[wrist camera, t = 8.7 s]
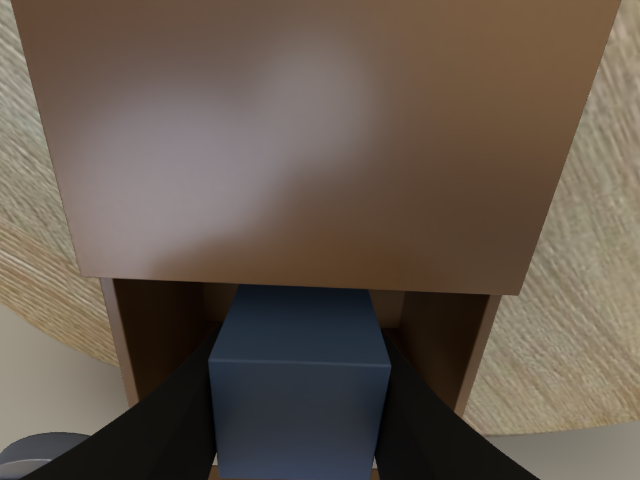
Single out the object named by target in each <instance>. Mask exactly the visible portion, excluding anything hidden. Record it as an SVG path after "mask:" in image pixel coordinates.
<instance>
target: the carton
mask: <svg viewBox="0 0 640 480" xmlns="http://www.w3.org/2000/svg"><path fill="white" fill-rule="evenodd" d="M620 3H621V0H11V4H12V8H13V12H14V16H15V19H16V23H17V27H18V31H19V35H20V39H21V43H22V47H23V51H24V55H25V59H26V63H27V67H28V70H29V74H30V78H31V82H32V86H33V90H34V94H35V98H36V102H37V106H38V110H39V114H40V118H41V121H42V125H43V129H44V133H45V137H46V141H47V145H48V149H49V153H50V157H51V161H52V165H53V169H54V172H55V176H56V180H57V184H58V188H59V192H60V196H61V200H62V204H63V208H64V212H65V216H66V220H67V223H68V227H69V231H70V235H71V239H72V243H73V247H74V251H75V255H76V259H77V263H78V267H79V271H80V274H81V277H94V278H99V279H100V283H101V287H102V292H103V296H104V300H105V305H106V309H107V313H108V318H109V322H110V326H111V331H112V335H113V339H114V344H115V348H116V352H117V357H118V361H119V365H120V370H121V374H122V378H123V383H124V387H125V391H126V396H127V400H128V404H129V409H130V408H131V407H133V406H134V405H135V404H137V403H138V402H139V401H140V400H142V399H143V398H144V397H145V396H147V395H148V394H149V393H150V392H151V391H152V390H154V389H155V388H156V387H157V386H158V385H159V384H161V383H162V382H163V381H164V380H165V379H166V378H167V377H168V376H169V375H170V374H172V373H173V372H174V371H175V370H176V369H177V368H178V367H179V366H180V365H181V364H182V363H183V362H184V361H185V360H186V359H187V358H188V357H189V356H190V355H191V354H192V353H193V352H194V351H195V350H196V349H197V348H198V347H199V346H200V345H201V344H202V343H203V342H204V341H205V340H206V338H207V337H208V336H209V335H210V334H211V333H212V332H213V331H214V330H215V329H216V328H217V326H218V325H220V324H221V323H224V320H225V318H226V316H227V313H228V311H229V308H230V306H231V304H232V301H233V299H234V296H235V294H236V292H237V289H238V287H239V284H258V285H282V286H305V287H328V288H352V289H368V290H369V293H370V297H371V300H372V303H373V307H374V310H375V313H376V317H377V320H378V323H379V327H380V329H383V330H384V332H385V333H386V334H387V335H388V337H389V338H390V339H391V341H392V342H393V343H394V345H395V346H396V347H397V349H398V350H399V351H400V353H401V354H402V355H403V356H404V358H405V359H406V360H407V361H408V363H409V364H410V365H411V366H412V368H413V369H414V370H415V371H416V372H417V373H418V375H419V376H420V377H421V378H422V379H423V380H424V382H425V383H426V384H427V385H428V386H429V387H430V388H431V389H432V390H433V391H434V392H435V394H436V395H437V396H438V397H439V398H440V399H441V400H442V401H443V402H444V403H445V404H446V405H447V406H448V407H449V408H451V409H452V410H453V411H454V412H455V413H456V414H457V415H458V416H459V417H460V418H461V419H462V417H463V414H464V411H465V408H466V405H467V402H468V399H469V396H470V393H471V389H472V386H473V383H474V380H475V377H476V374H477V371H478V368H479V365H480V362H481V359H482V356H483V352H484V349H485V346H486V343H487V340H488V337H489V334H490V331H491V328H492V325H493V322H494V319H495V315H496V312H497V309H498V306H499V303H500V300H501V297H502V295H516V296H518V295H519V293H520V290H521V288H522V285H523V282H524V279H525V276H526V273H527V270H528V267H529V265H530V262H531V259H532V256H533V253H534V250H535V247H536V244H537V242H538V239H539V236H540V233H541V230H542V227H543V224H544V221H545V219H546V216H547V213H548V210H549V207H550V204H551V201H552V198H553V196H554V193H555V190H556V187H557V184H558V181H559V178H560V175H561V173H562V170H563V167H564V164H565V161H566V158H567V155H568V152H569V150H570V147H571V144H572V141H573V138H574V135H575V132H576V129H577V127H578V124H579V121H580V118H581V115H582V112H583V109H584V106H585V104H586V101H587V98H588V95H589V92H590V89H591V86H592V83H593V81H594V78H595V75H596V72H597V69H598V66H599V63H600V60H601V58H602V55H603V52H604V49H605V46H606V43H607V40H608V37H609V35H610V32H611V29H612V26H613V23H614V20H615V17H616V14H617V11H618V9H619V6H620Z"/></svg>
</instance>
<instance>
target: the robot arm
mask: <svg viewBox="0 0 640 480" xmlns="http://www.w3.org/2000/svg"><path fill="white" fill-rule="evenodd" d="M222 325H223V323H221V324H220V325H218V326H217V328H216V329H215V330H214V331H213V332H212V333H211V334H210V335H209V336H208V337H207V338H206V340H205V341H204V342H203V343H202V344H201V345H200V346H199V347H198V348H197V349H196V350H195V351H194V352H193V353H192V354H191V355H190V356H189V357H188V358H187V359H186V360H185V361H184V362H183V363H182V364H181V365H180V366H179V367H178V368H177V369H176V370H175V371H174V372H173V373H172V374H170V375H169V376H168V377H167V378H166V379H165V380H164V381H163V382H162V383H161V384H159V385H158V386H157V387H156V388H155V389H154V390H152V391H151V392H150V393H149V394H148V395H147V396H145V397H144V398H143V399H142V400H140V401H139V402H138V403H137V404H135V405H134V406H133V407H131V408H130V409H129V410H128V411H126V412H125V413H124V414H122V415H121V416H119V417H118V418H116V419H115V420H114V421H112V422H111V423H109V424H108V425H106V426H105V427H103V428H102V429H101V430H99V431H98V432H96V433H95V434H93V435H92V436H90V437H89V438H87V439H86V440H84V441H83V442H81V443H79V444H78V445H76V446H75V447H73V448H72V449H70V450H68V451H67V452H65V453H63V454H62V455H60V456H58V457H57V458H55V459H53V460H52V461H50V462H48V463H47V464H45V465H43V466H41V467H40V468H38V469H36V470H34V471H33V472H31V473H29V474H27V475H25V476H23V477H22V478H20V479H18V480H208V478H209V475H210V471H211V468H212V464H213V461H214V458H215V455H216V452H217V450H216V440H215V429H214V418H213V407H212V397H211V386H210V375H209V364H208V359H209V357H210V354H211V352H212V349H213V347H214V345H215V342H216V340H217V337H218V335H219V333H220V330H221V328H222ZM380 330H381V333H382V337H383V340H384V343H385V346H386V350H387V353H388V356H389V360H390V363H391V371H390V376H389V381H388V387H387V392H386V397H385V403H384V408H383V413H382V418H381V424H380V429H379V434H378V440H377V445H376V450H375V459H376V464H377V468H378V474H379V479H380V480H540V479H539V478H537V477H536V476H534V475H533V474H531V473H530V472H529V471H527V470H525V469H524V468H523V467H521V466H520V465H518V464H517V463H516V462H515V461H513V460H512V459H510V458H509V457H508V456H506V455H505V454H504V453H502V452H501V451H500V450H498V449H497V448H496V447H495V446H493V445H492V444H491V443H490V442H489V441H487V440H486V439H485V438H484V437H482V436H481V435H480V434H479V433H477V432H476V431H475V430H474V429H473V428H472V427H470V426H469V425H468V424H467V423H466V422H465V421H463V420H462V419H461V418H460V417H459V416H458V415H457V414H456V413H455V412H454V411H453V410H452V409H451V408H449V407H448V406H447V405H446V404H445V403H444V402H443V401H442V400H441V399H440V398H439V397H438V396H437V395H436V394H435V392H434V391H433V390H432V389H431V388H430V387H429V386H428V385H427V384H426V383H425V382H424V380H423V379H422V378H421V377H420V376H419V375H418V373H417V372H416V371H415V370H414V369H413V368H412V366H411V365H410V364H409V363H408V361H407V360H406V359H405V358H404V356H403V355H402V354H401V353H400V351H399V350H398V349H397V347H396V346H395V345H394V343H393V342H392V341H391V339H390V338H389V337H388V335H387V334H386V333H385V332H384V330H383V329H380Z"/></svg>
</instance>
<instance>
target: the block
mask: <svg viewBox="0 0 640 480" xmlns="http://www.w3.org/2000/svg"><path fill="white" fill-rule="evenodd" d="M208 364H209V375H210V386H211V397H212V407H213V418H214V429H215V440H216V450H217V460H218V472H219V478H235V479H292V480H370V477H371V471H372V466H373V461H374V456H375V450H376V445H377V440H378V434H379V429H380V424H381V418H382V413H383V408H384V403H385V397H386V392H387V387H388V381H389V376H390V371H391V363H390V360H389V356H388V353H387V350H386V346H385V343H384V340H383V337H382V333H381V330H380V327H379V323H378V320H377V317H376V313H375V310H374V307H373V303H372V300H371V297H370V293H369V290H368V289H352V288H328V287H305V286H282V285H258V284H239V287H238V289H237V292H236V294H235V296H234V299H233V301H232V304H231V306H230V308H229V311H228V313H227V316H226V318H225V320H224V323H223V325H222V328H221V330H220V333H219V335H218V337H217V340H216V342H215V345H214V347H213V349H212V352H211V354H210V357H209V359H208Z"/></svg>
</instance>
